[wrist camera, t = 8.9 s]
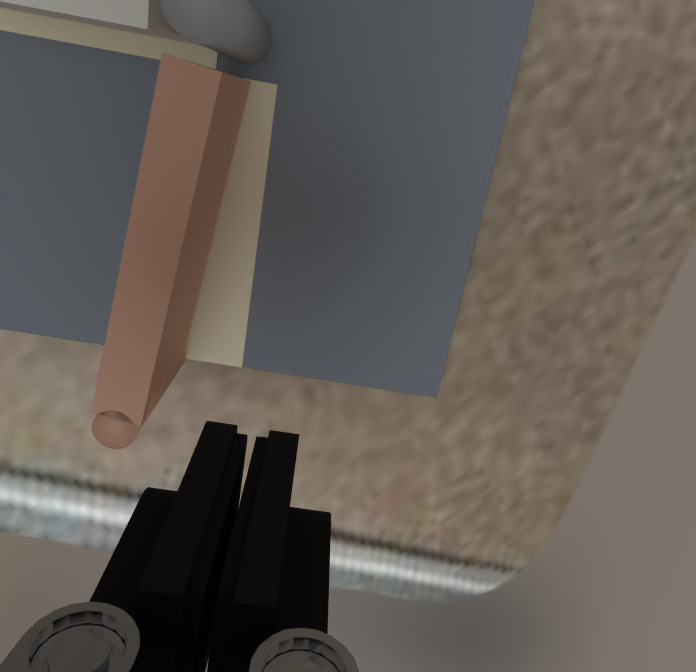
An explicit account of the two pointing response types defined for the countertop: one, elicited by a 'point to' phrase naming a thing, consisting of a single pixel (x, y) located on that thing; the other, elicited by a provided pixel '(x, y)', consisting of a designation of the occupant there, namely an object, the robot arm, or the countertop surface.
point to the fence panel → (166, 241)
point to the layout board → (264, 171)
